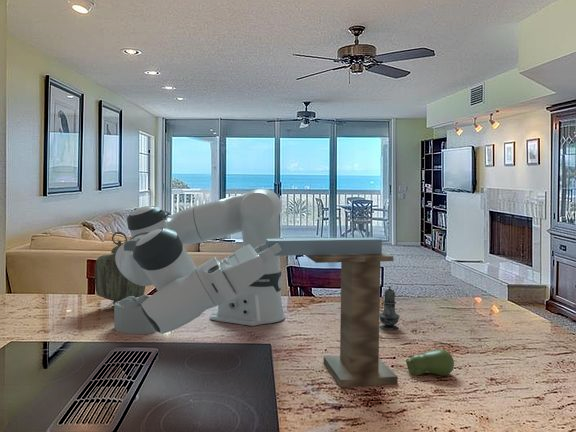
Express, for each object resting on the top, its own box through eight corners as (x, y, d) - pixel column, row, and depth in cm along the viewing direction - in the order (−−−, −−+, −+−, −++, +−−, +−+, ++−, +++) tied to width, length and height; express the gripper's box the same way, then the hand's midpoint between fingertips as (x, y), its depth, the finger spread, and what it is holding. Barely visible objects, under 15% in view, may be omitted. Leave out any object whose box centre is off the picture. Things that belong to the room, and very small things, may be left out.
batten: (268, 255, 101) (268, 240, 101) (265, 253, 105) (265, 238, 105) (381, 253, 105) (381, 239, 105) (375, 251, 109) (375, 237, 109)
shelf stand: (316, 389, 99) (317, 258, 98) (301, 364, 113) (302, 249, 111) (397, 383, 102) (400, 256, 101) (374, 360, 116) (375, 248, 114)
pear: (454, 353, 104) (405, 358, 106) (457, 378, 104) (409, 383, 106) (449, 344, 110) (403, 349, 111) (453, 368, 110) (407, 373, 112)
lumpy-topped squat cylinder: (150, 335, 134) (150, 303, 134) (106, 332, 137) (105, 300, 136) (167, 324, 144) (166, 294, 144) (125, 322, 147) (124, 292, 146)
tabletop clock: (146, 309, 161) (145, 232, 160) (123, 315, 154) (121, 234, 152) (116, 303, 169) (115, 229, 167) (93, 309, 161) (91, 231, 160)
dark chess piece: (399, 331, 139) (400, 288, 138) (378, 330, 140) (378, 287, 139) (399, 325, 144) (400, 284, 144) (378, 324, 146) (379, 283, 145)
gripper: (224, 282, 112) (277, 250, 114) (229, 303, 92) (294, 265, 94) (210, 258, 111) (263, 227, 113) (212, 274, 91) (277, 236, 93)
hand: (277, 244), depth 103 cm, fingers closed on batten, 4 cm apart
